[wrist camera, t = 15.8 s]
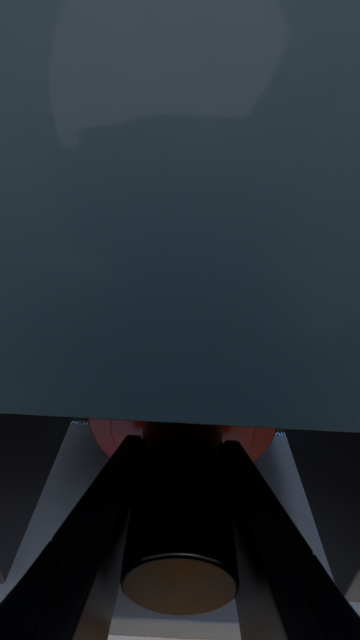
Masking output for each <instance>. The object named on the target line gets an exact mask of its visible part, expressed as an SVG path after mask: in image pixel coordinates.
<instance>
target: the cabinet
mask: <svg viewBox="0 0 360 640" xmlns="http://www.w3.org/2000/svg"><path fill="white" fill-rule="evenodd" d="M0 413H1V414H20V415H38V416H57V417H76V418H94V419H113V420H131V421H150V422H168V423H187V424H205V425H224V426H242V427H261V428H280V429H298V430H317V431H335V432H354V433H360V0H0Z"/></svg>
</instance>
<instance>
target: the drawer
mask: <svg viewBox="0 0 360 640" xmlns="http://www.w3.org/2000/svg"><path fill="white" fill-rule="evenodd" d="M71 421H88V418H76V417H57V416H38V415H20V414H1V413H0V603H1V601H2V600H3V599H4V598H5V597H6V596H7V594H8V593H9V592H10V591H11V590H12V588H13V587H14V586H15V585H16V584H17V583H18V581H19V580H20V579H21V578H22V577H23V575H24V574H25V573H26V571H27V570H28V569H29V568H30V566H31V565H32V564H33V562H34V561H35V560H36V558H37V557H38V556H39V555H40V553H41V552H42V550H43V549H44V548H45V546H46V545H47V544H48V542H49V541H52V537H53V536H54V534H55V533H56V531H57V530H58V529H59V527H60V526H61V525H62V523H63V522H64V520H65V519H66V518H67V516H68V515H69V514H70V512H71V511H72V510H73V508H74V507H75V505H76V504H77V503H78V501H79V500H80V499H81V497H82V496H83V494H84V493H85V492H86V490H87V489H88V488H89V486H90V485H91V484H92V482H93V481H94V479H95V478H96V477H97V475H98V474H99V473H100V471H101V470H102V468H103V467H104V466H105V464H106V463H107V462H108V460H109V459H110V458H109V457H108V456H107V455H106V454H105V453H104V452H103V450H102V449H101V448H100V447H99V445H98V444H97V442H96V440H95V439H94V437H93V435H92V432H91V429H90V427H89V425H73V424H70V423H71ZM276 432H285V434H286V436H278V435H274V438H273V440H272V441H271V443H270V445H269V446H268V448H267V449H266V450H265V452H264V453H263V454H262V455H261V456H260V457H259V458H258V459H257V460H256V461H254V462H253V463H254V464H255V466H256V467H257V469H258V470H259V472H260V473H261V475H262V476H263V478H264V479H265V481H266V482H267V484H268V485H269V487H270V488H271V490H272V491H273V492H274V494H275V495H276V497H277V498H278V500H279V501H280V503H281V504H282V506H283V507H284V509H285V510H286V512H287V513H288V515H289V516H290V518H291V519H292V521H293V522H294V524H295V525H296V527H297V528H298V530H299V531H300V533H301V534H302V536H303V537H304V539H305V540H306V542H307V543H308V545H309V546H310V548H311V549H312V551H313V554H315V555H316V556H317V558H318V560H319V561H320V563H321V564H322V566H323V567H324V569H325V570H326V571H327V573H328V574H329V576H330V577H331V579H332V580H333V581H334V583H335V584H336V586H337V587H338V589H339V590H340V591H341V593H342V594H343V595H344V597H345V598H346V599H347V601H348V602H349V603H350V605H351V606H352V607H353V608H354V610H355V611H356V612H357V614H358V615H359V616H360V433H354V432H335V431H317V430H298V429H280V428H277V430H276ZM108 635H124V636H142V637H164V638H183V639H204V640H241V634H240V627H239V621H238V614H237V608H236V601H235V598H234V599H233V600H232V601H231V602H230V603H228V604H227V605H225V606H223V607H221V608H219V609H217V610H214V611H211V612H207V613H202V614H195V615H169V614H163V613H158V612H154V611H150V610H148V609H145V608H142V607H140V606H138V605H136V604H135V603H133V602H132V601H130V600H129V599H128V598H127V597H126V596H125V595H124V593H123V591H122V589H121V585H120V586H119V590H118V594H117V599H116V603H115V608H114V612H113V617H112V621H111V625H110V630H109V634H108Z"/></svg>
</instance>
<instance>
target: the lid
mask: <svg viewBox="0 0 360 640" xmlns="http://www.w3.org/2000/svg"><path fill="white" fill-rule="evenodd" d="M88 421H89V427H90V429H91V432H92V435H93V437H94V439H95V440H96V442H97V444H98V445H99V447H100V448H101V449H102V450H103V452H104V453H105V454H106V455H107V456H108V457H109V458H111V456H112V455H113V453H114V452H115V451H116V449H117V448H118V447H119V445H120V444H121V442H122V441H123V440H124V438H125V437H126V436H127V435H139V436H141V447H140V454H139V460H138V467H137V473H136V480H135V486H134V491H133V497H132V504H131V510H130V517H129V523H128V530H127V536H126V543H125V549H124V556H123V562H122V569H121V575H120V585H121V589H122V591H123V593H124V595H125V596H126V597H127V598H128V599H129V600H130V601H132V602H133V603H135V604H136V605H138V606H140V607H142V608H145V609H148V610H150V611H154V612H158V613H163V614H169V615H195V614H202V613H207V612H211V611H214V610H217V609H219V608H221V607H223V606H225V605H227V604H228V603H230V602H231V601H232V600H233V599H234V598H235V596H236V595H237V593H238V590H239V585H240V582H239V574H238V565H237V556H236V548H235V539H234V530H233V522H232V513H231V504H230V496H229V487H228V479H227V470H226V461H225V453H224V442H225V441H226V440H235V441H239V442H240V443H241V445H242V446H243V448H244V449H245V451H246V452H247V454H248V455H249V457H250V458H251V460H252V461H253V462H254V461H256V460H257V459H258V458H259V457H260V456H261V455H262V454H263V453H264V452H265V450H266V449H267V448H268V446H269V445H270V443H271V441H272V440H273V438H274V435H275V433H276V430H277V428H261V427H242V426H224V425H205V424H187V423H168V422H150V421H131V420H113V419H94V418H88Z"/></svg>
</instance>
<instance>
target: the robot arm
mask: <svg viewBox="0 0 360 640" xmlns="http://www.w3.org/2000/svg"><path fill="white" fill-rule="evenodd" d="M140 447H141V436H139V435H127V436H126V437H125V438H124V440H123V441H122V442H121V444H120V445H119V447H118V448H117V449H116V451H115V452H114V453H113V455H112V456H111V458H110V459H109V460H108V462H107V463H106V464H105V466H104V467H103V468H102V470H101V471H100V473H99V474H98V475H97V477H96V478H95V479H94V481H93V482H92V484H91V485H90V486H89V488H88V489H87V490H86V492H85V493H84V494H83V496H82V497H81V499H80V500H79V501H78V503H77V504H76V505H75V507H74V508H73V510H72V511H71V512H70V514H69V515H68V516H67V518H66V519H65V520H64V522H63V523H62V525H61V526H60V527H59V529H58V530H57V531H56V533H55V534H54V536H53V537H52V541H49V542H48V544H47V545H46V546H45V548H44V549H43V550H42V552H41V553H40V555H39V556H38V557H37V558H36V560H35V561H34V562H33V564H32V565H31V566H30V568H29V569H28V570H27V571H26V573H25V574H24V575H23V577H22V578H21V579H20V580H19V581H18V583H17V584H16V585H15V586H14V587H13V588H12V590H11V591H10V592H9V593H8V594H7V596H6V597H5V598H4V599H3V600H2V601H1V603H0V640H107V638H108V634H109V630H110V625H111V621H112V617H113V612H114V608H115V603H116V599H117V594H118V590H119V586H120V575H121V569H122V562H123V556H124V549H125V543H126V536H127V530H128V523H129V517H130V510H131V504H132V497H133V491H134V486H135V480H136V473H137V467H138V460H139V454H140ZM224 453H225V461H226V470H227V479H228V487H229V496H230V504H231V513H232V522H233V530H234V539H235V548H236V556H237V565H238V574H239V582H240V585H239V590H238V593H237V595H236V596H235V601H236V608H237V614H238V621H239V627H240V634H241V640H360V616H359V615H358V614H357V612H356V611H355V610H354V608H353V607H352V606H351V605H350V603H349V602H348V601H347V599H346V598H345V597H344V595H343V594H342V593H341V591H340V590H339V589H338V587H337V586H336V584H335V583H334V581H333V580H332V579H331V577H330V576H329V574H328V573H327V571H326V570H325V569H324V567H323V566H322V564H321V563H320V561H319V560H318V558H317V556H316V555H315V554H313V551H312V549H311V548H310V546H309V545H308V543H307V542H306V540H305V539H304V537H303V536H302V534H301V533H300V531H299V530H298V528H297V527H296V525H295V524H294V522H293V521H292V519H291V518H290V516H289V515H288V513H287V512H286V510H285V509H284V507H283V506H282V504H281V503H280V501H279V500H278V498H277V497H276V495H275V494H274V492H273V491H272V490H271V488H270V487H269V485H268V484H267V482H266V481H265V479H264V478H263V476H262V475H261V473H260V472H259V470H258V469H257V467H256V466H255V464H254V463H253V461H252V460H251V458H250V457H249V455H248V454H247V452H246V451H245V449H244V448H243V446H242V445H241V443H240V442H239V441H235V440H226V441H225V442H224Z"/></svg>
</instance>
